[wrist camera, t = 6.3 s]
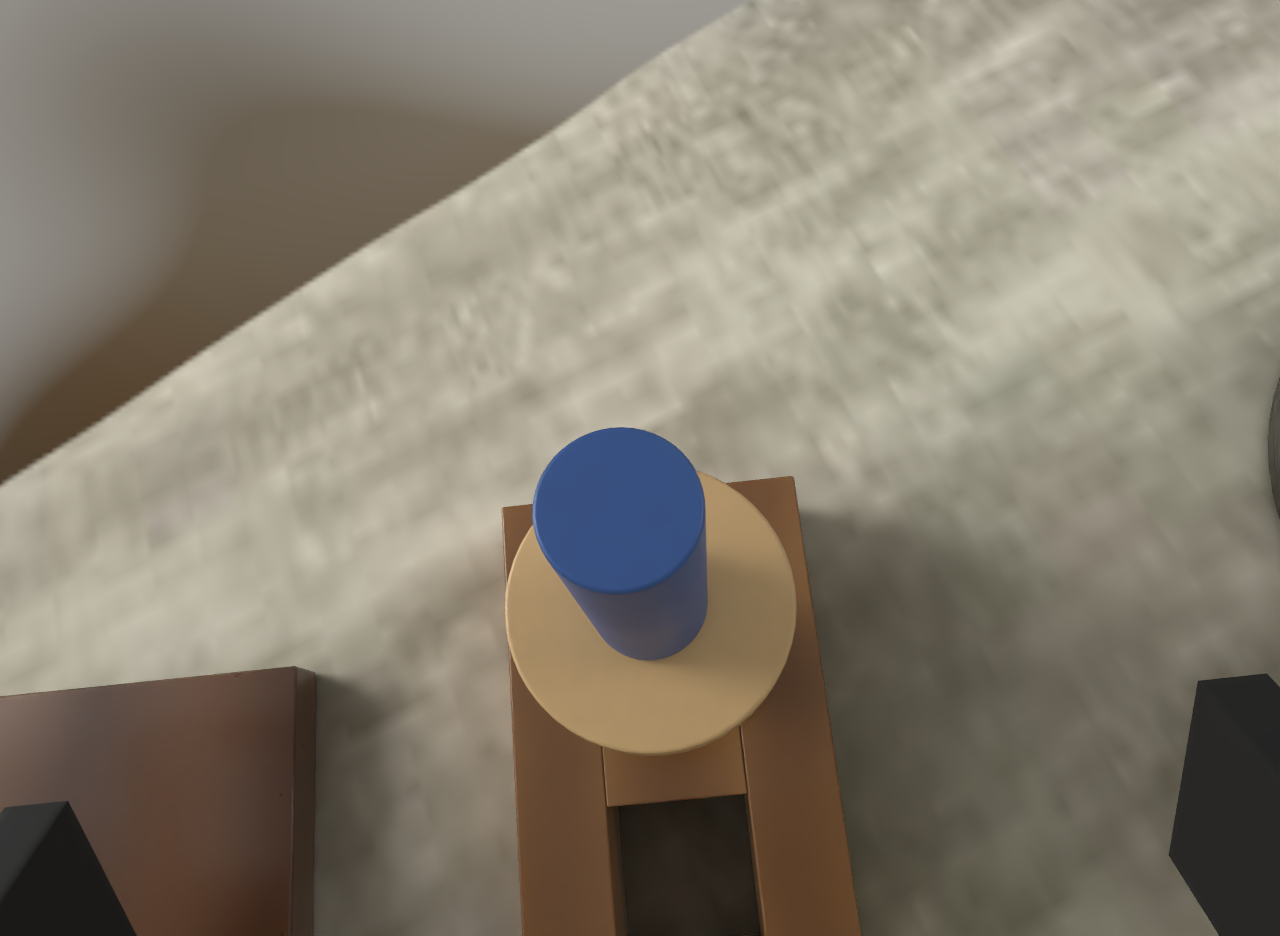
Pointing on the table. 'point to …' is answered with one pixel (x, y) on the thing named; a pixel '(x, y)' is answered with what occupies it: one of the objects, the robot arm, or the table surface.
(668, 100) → the table surface
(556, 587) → the peg
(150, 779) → the stand
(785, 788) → the peg holder
